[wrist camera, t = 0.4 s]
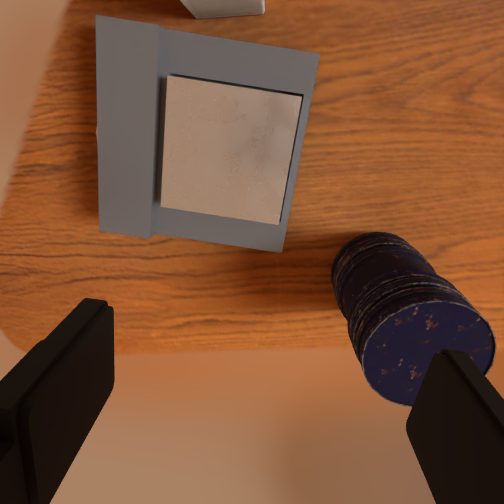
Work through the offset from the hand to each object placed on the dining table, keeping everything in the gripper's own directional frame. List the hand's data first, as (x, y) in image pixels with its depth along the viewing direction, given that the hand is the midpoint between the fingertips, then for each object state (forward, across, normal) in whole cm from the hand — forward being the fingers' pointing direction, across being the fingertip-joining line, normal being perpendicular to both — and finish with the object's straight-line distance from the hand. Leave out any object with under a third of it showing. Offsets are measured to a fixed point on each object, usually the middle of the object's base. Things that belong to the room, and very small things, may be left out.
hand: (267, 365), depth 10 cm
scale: (+29, +7, -3) cm, 30 cm away
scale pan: (+26, +4, -2) cm, 27 cm away
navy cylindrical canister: (+29, -13, +9) cm, 33 cm away
